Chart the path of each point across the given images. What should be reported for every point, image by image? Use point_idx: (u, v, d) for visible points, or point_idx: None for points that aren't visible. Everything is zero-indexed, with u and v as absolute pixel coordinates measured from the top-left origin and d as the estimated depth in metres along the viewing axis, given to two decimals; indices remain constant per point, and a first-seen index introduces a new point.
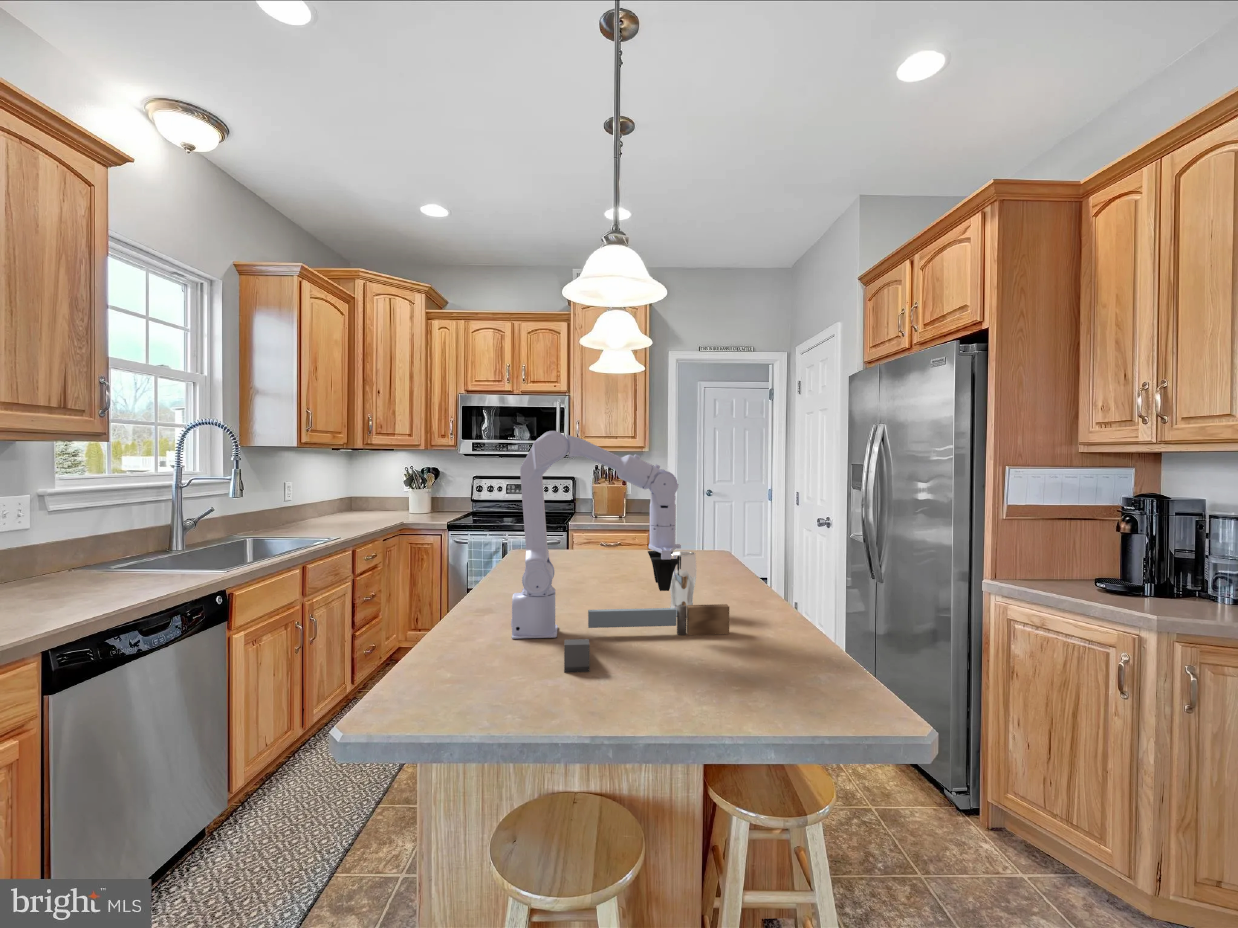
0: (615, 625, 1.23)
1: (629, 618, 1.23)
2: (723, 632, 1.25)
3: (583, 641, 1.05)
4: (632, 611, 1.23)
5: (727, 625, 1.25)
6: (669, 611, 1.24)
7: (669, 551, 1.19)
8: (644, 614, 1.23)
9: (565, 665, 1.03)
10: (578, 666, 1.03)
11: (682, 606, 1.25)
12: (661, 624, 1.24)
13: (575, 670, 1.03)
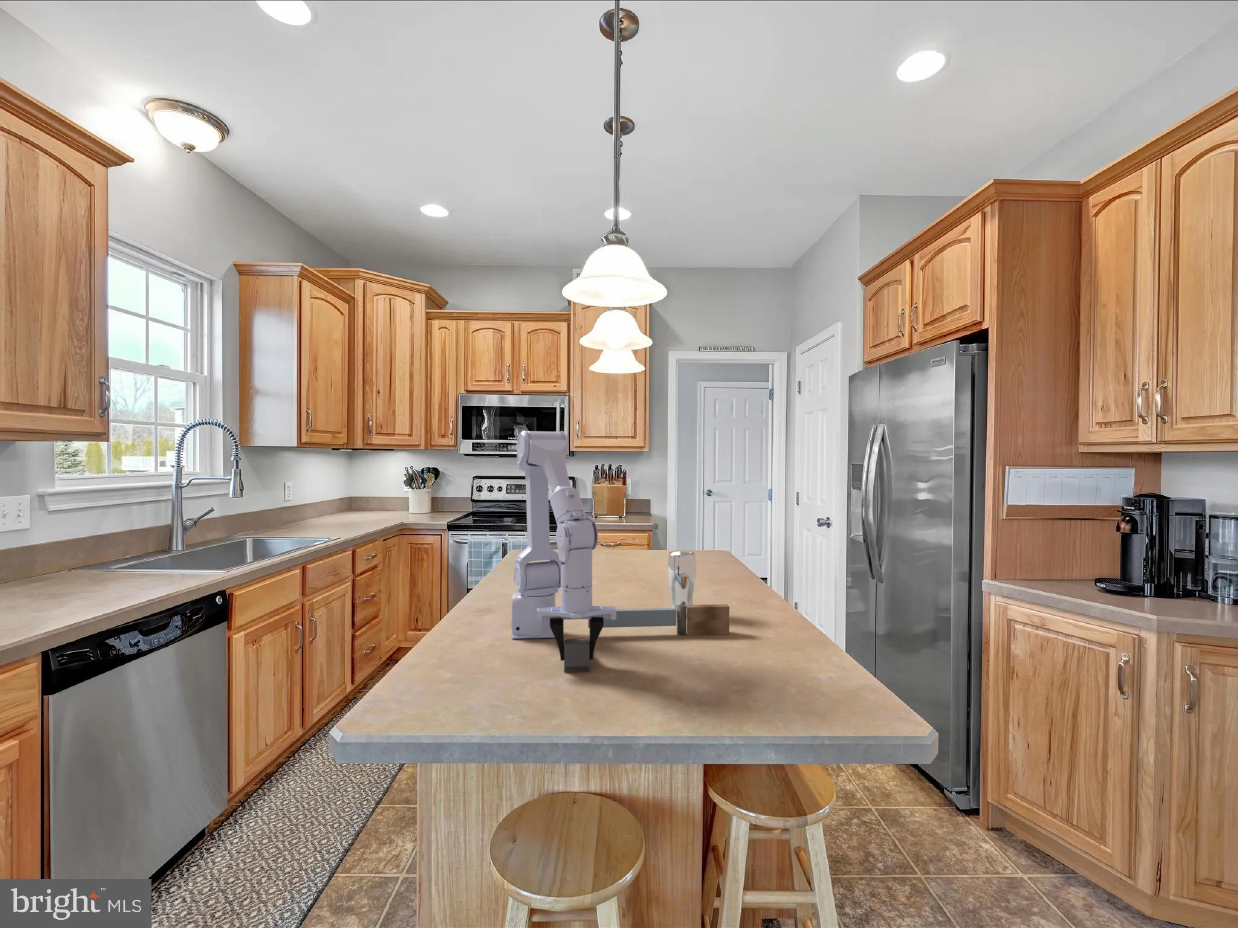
0: (615, 625, 1.23)
1: (629, 618, 1.23)
2: (723, 632, 1.25)
3: (583, 641, 1.05)
4: (632, 611, 1.23)
5: (727, 625, 1.25)
6: (669, 611, 1.24)
7: (536, 611, 1.05)
8: (644, 614, 1.23)
9: (565, 665, 1.03)
10: (578, 666, 1.03)
11: (682, 606, 1.25)
12: (661, 624, 1.24)
13: (575, 670, 1.03)
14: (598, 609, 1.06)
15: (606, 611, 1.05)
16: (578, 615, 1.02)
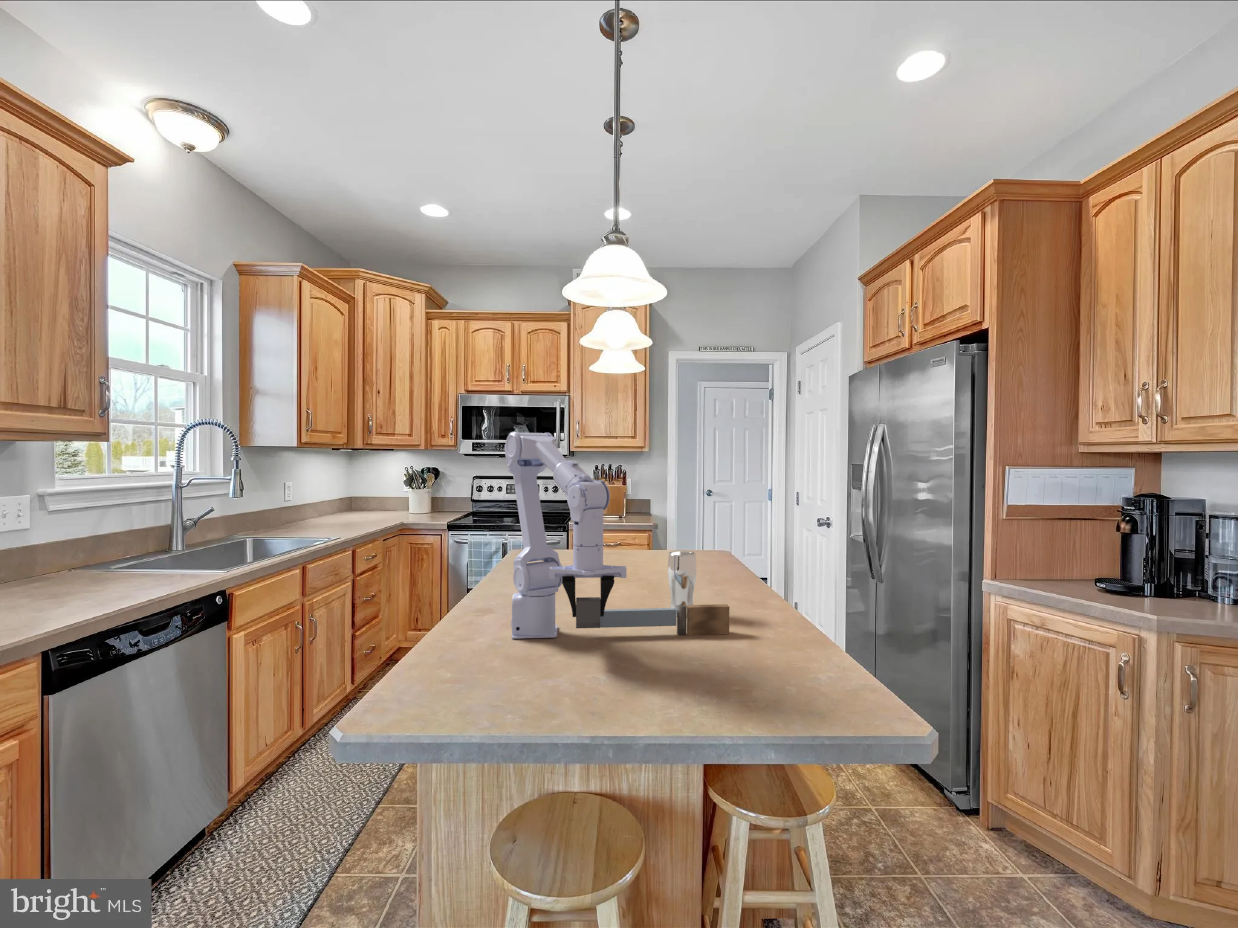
0: (615, 625, 1.23)
1: (629, 618, 1.23)
2: (723, 632, 1.25)
3: (594, 599, 1.08)
4: (632, 611, 1.23)
5: (727, 625, 1.25)
6: (669, 611, 1.24)
7: (549, 569, 1.08)
8: (644, 614, 1.23)
9: (577, 621, 1.06)
10: (589, 622, 1.07)
11: (682, 606, 1.25)
12: (661, 624, 1.24)
13: (586, 626, 1.06)
14: (609, 568, 1.09)
15: (617, 570, 1.09)
16: (590, 572, 1.05)
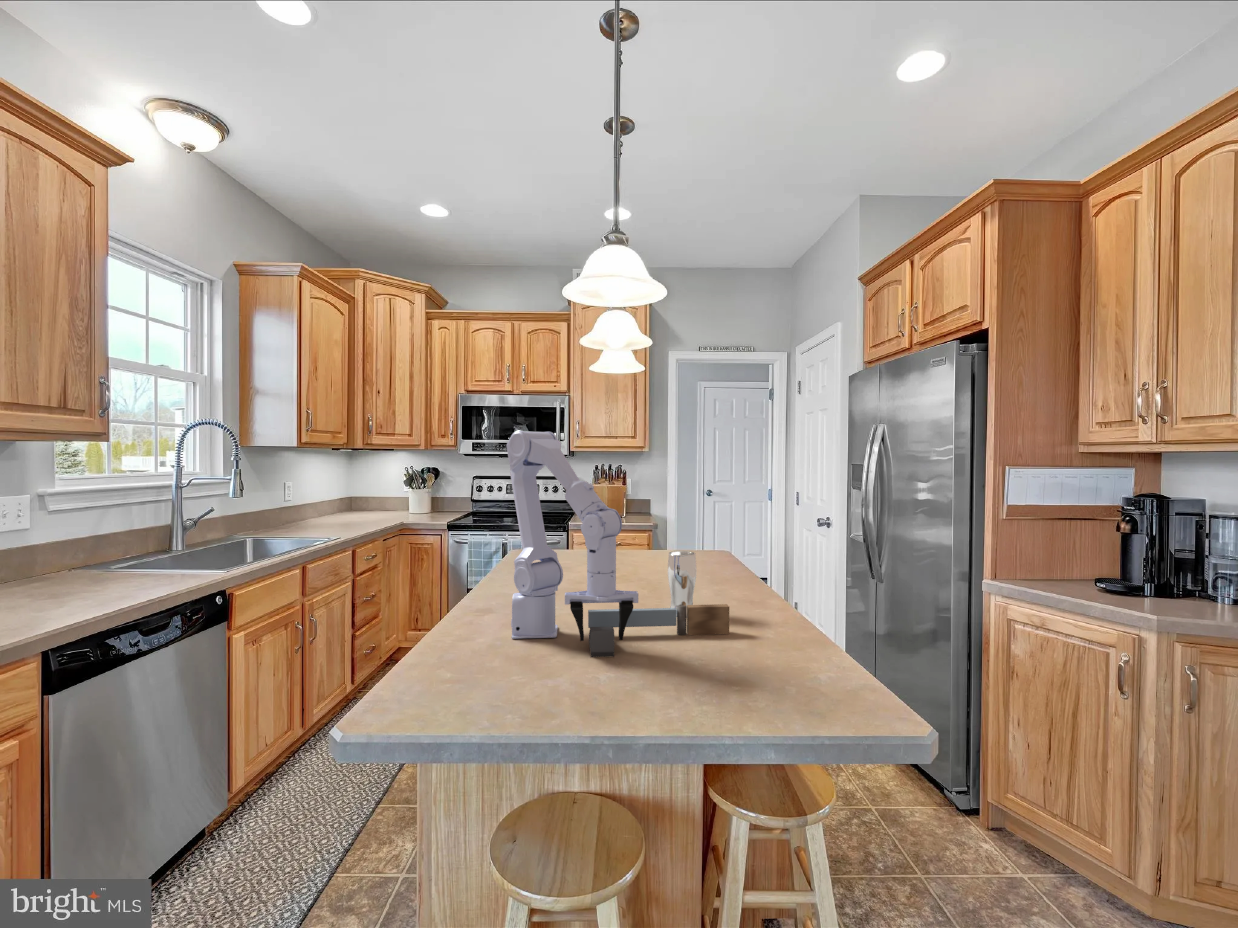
0: (615, 625, 1.23)
1: (629, 618, 1.23)
2: (723, 632, 1.25)
3: (607, 628, 1.12)
4: (632, 611, 1.23)
5: (727, 625, 1.25)
6: (669, 611, 1.24)
7: None
8: (644, 614, 1.23)
9: (592, 650, 1.11)
10: (604, 651, 1.11)
11: (682, 606, 1.25)
12: (661, 624, 1.24)
13: (601, 655, 1.11)
14: (621, 593, 1.14)
15: (629, 595, 1.13)
16: (604, 598, 1.10)
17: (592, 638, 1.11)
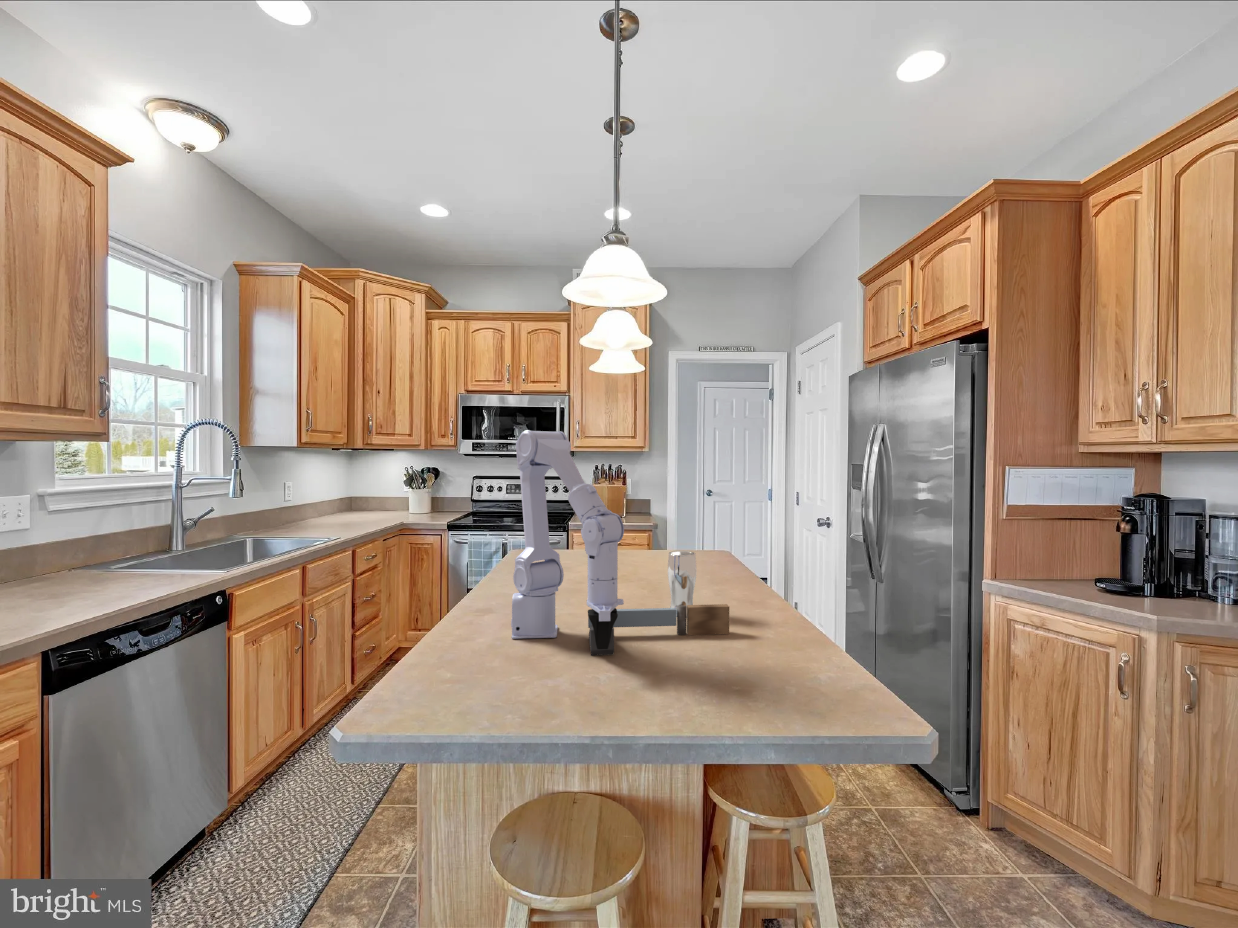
0: (615, 625, 1.23)
1: (629, 618, 1.23)
2: (723, 632, 1.25)
3: None
4: (632, 611, 1.23)
5: (727, 625, 1.25)
6: (669, 611, 1.24)
7: (608, 611, 1.03)
8: (644, 614, 1.23)
9: (591, 648, 1.11)
10: (604, 649, 1.12)
11: (682, 606, 1.25)
12: (661, 624, 1.24)
13: (601, 653, 1.12)
14: None
15: None
16: None
17: (592, 636, 1.11)
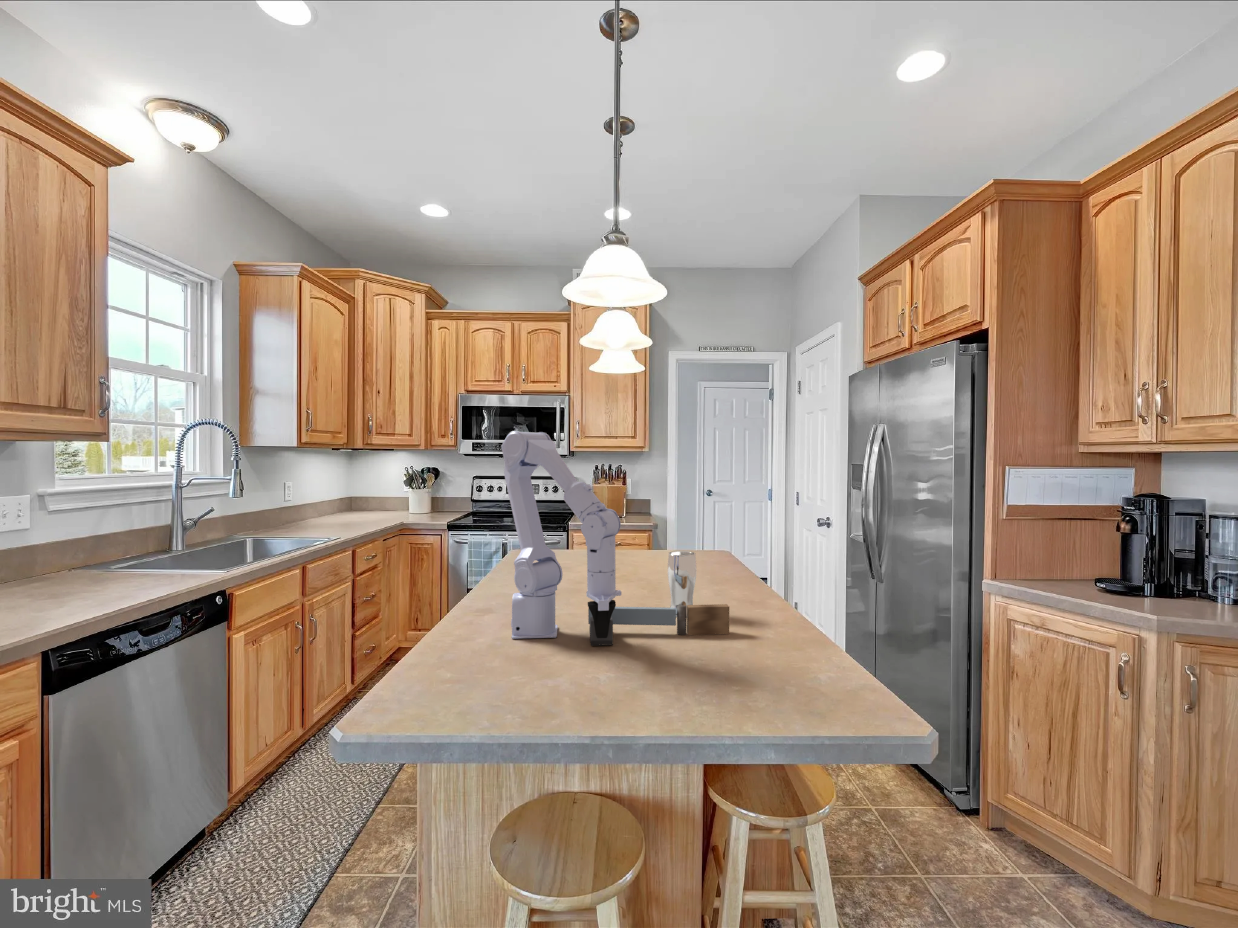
0: (614, 622, 1.25)
1: (628, 616, 1.25)
2: (723, 632, 1.25)
3: None
4: (631, 609, 1.25)
5: (727, 625, 1.25)
6: (668, 611, 1.24)
7: (606, 601, 1.09)
8: (643, 613, 1.25)
9: (591, 639, 1.17)
10: (603, 640, 1.17)
11: (682, 606, 1.25)
12: (660, 623, 1.24)
13: (600, 643, 1.17)
14: None
15: None
16: (620, 591, 1.17)
17: (592, 627, 1.17)
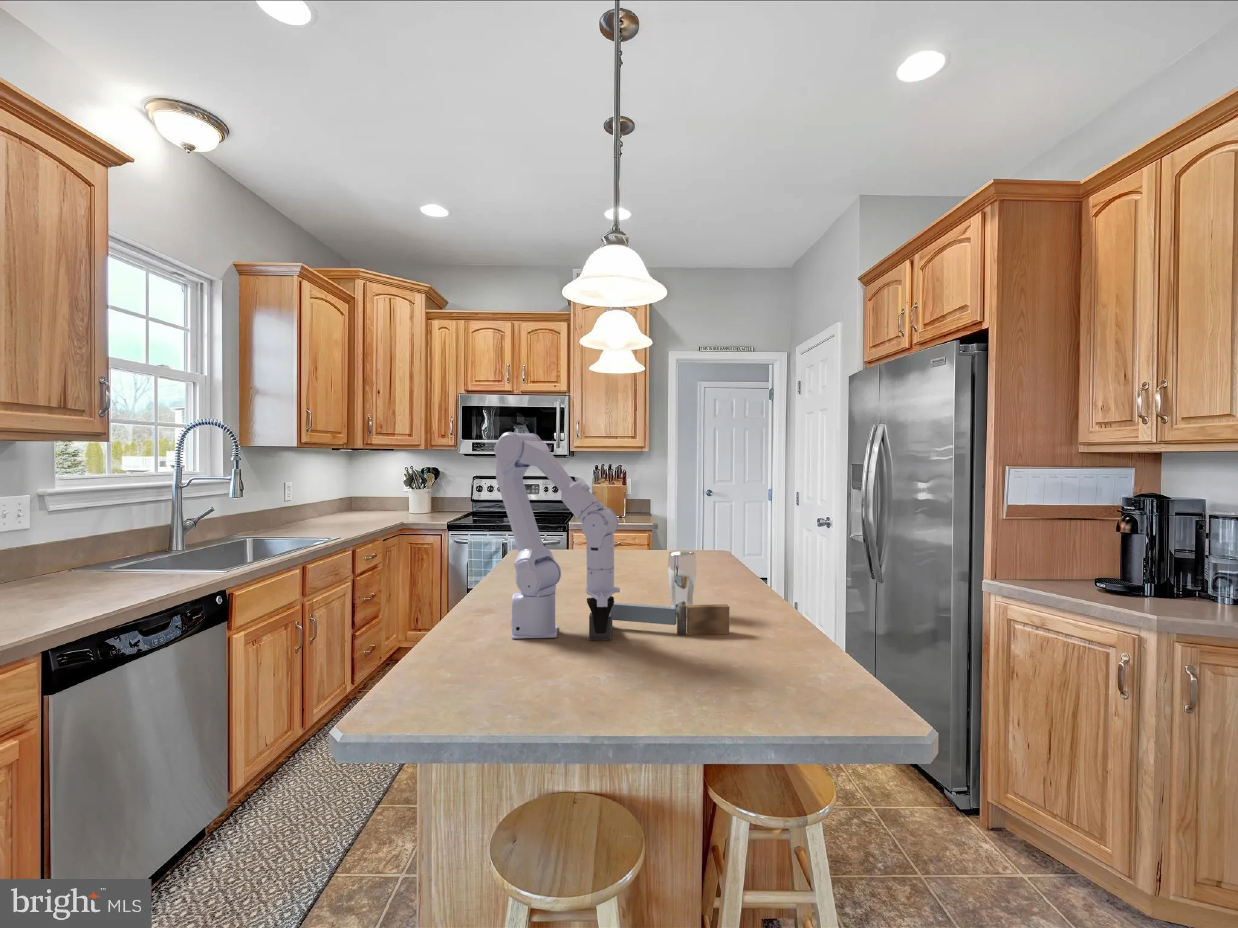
0: (616, 618, 1.28)
1: (629, 613, 1.27)
2: (723, 632, 1.25)
3: None
4: (632, 606, 1.27)
5: (727, 625, 1.25)
6: (668, 610, 1.25)
7: (605, 598, 1.12)
8: (643, 610, 1.26)
9: (590, 633, 1.20)
10: (601, 635, 1.20)
11: (682, 606, 1.25)
12: (660, 622, 1.25)
13: (598, 638, 1.20)
14: None
15: None
16: (619, 588, 1.20)
17: (590, 622, 1.20)
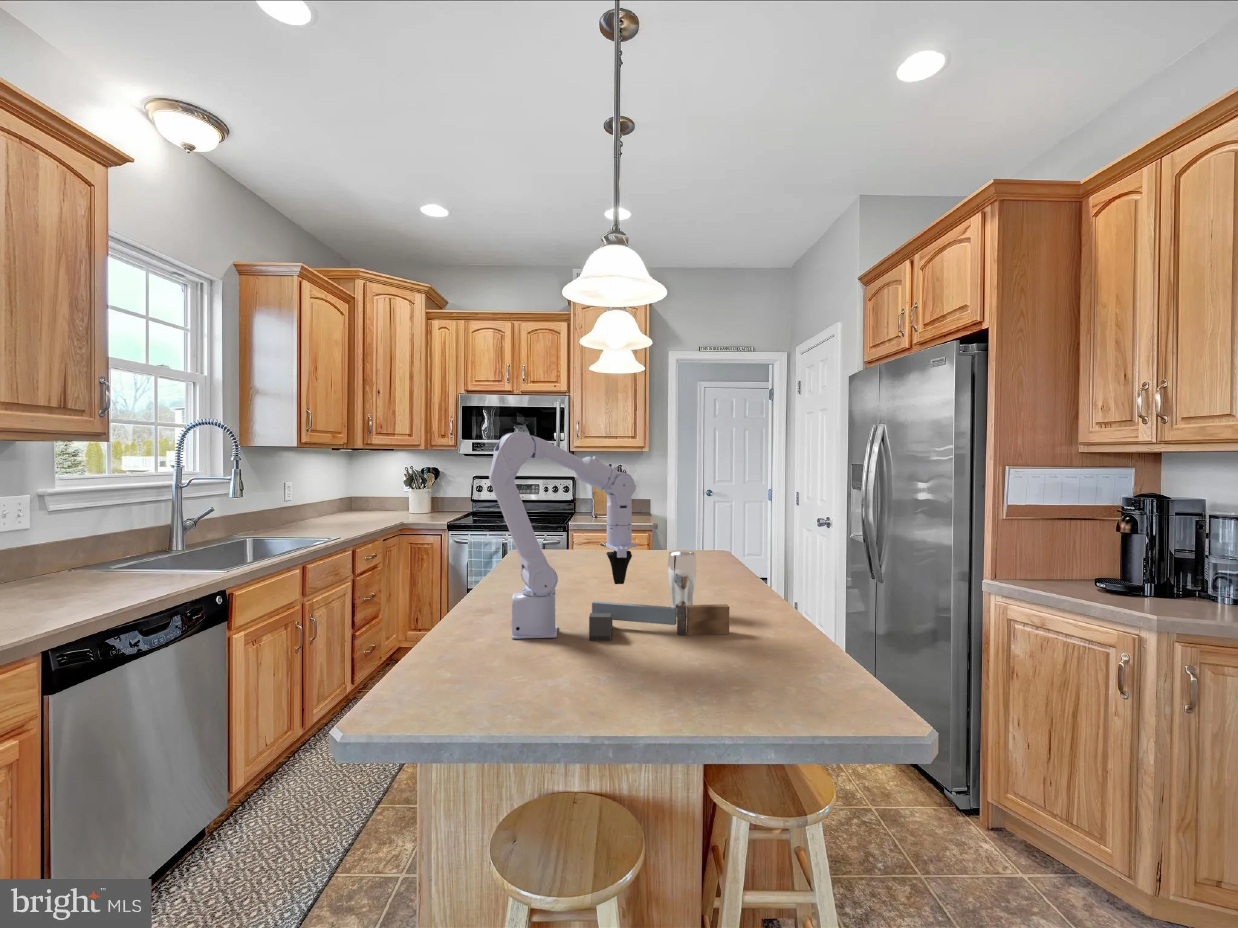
0: (616, 618, 1.28)
1: (629, 613, 1.27)
2: (723, 632, 1.25)
3: (605, 615, 1.22)
4: (632, 606, 1.27)
5: (727, 625, 1.25)
6: (668, 610, 1.25)
7: (625, 549, 1.24)
8: (643, 610, 1.26)
9: (590, 634, 1.20)
10: (601, 635, 1.20)
11: (682, 606, 1.25)
12: (660, 622, 1.25)
13: (598, 639, 1.20)
14: None
15: None
16: None
17: (590, 623, 1.20)
